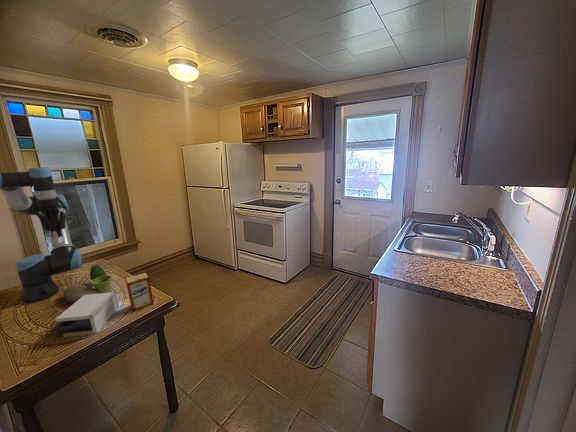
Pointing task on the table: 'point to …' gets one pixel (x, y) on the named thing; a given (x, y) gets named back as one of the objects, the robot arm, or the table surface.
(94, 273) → the avocado
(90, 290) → the sponge
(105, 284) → the plant pot
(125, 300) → the table surface
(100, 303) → the white box
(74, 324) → the tray
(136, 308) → the baking soda box
